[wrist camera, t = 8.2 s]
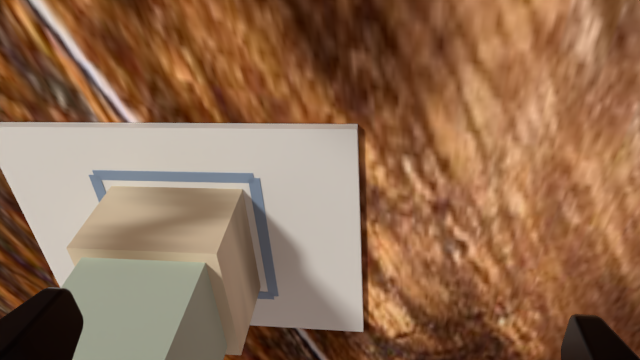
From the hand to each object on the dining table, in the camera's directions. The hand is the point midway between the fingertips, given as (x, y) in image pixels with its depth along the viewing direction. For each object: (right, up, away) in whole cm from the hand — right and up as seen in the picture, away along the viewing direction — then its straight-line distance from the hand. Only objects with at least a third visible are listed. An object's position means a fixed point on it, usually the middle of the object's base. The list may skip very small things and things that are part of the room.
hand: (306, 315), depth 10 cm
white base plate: (-6, 0, +16) cm, 17 cm away
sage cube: (-6, -3, +12) cm, 14 cm away
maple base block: (-6, 0, +16) cm, 17 cm away
